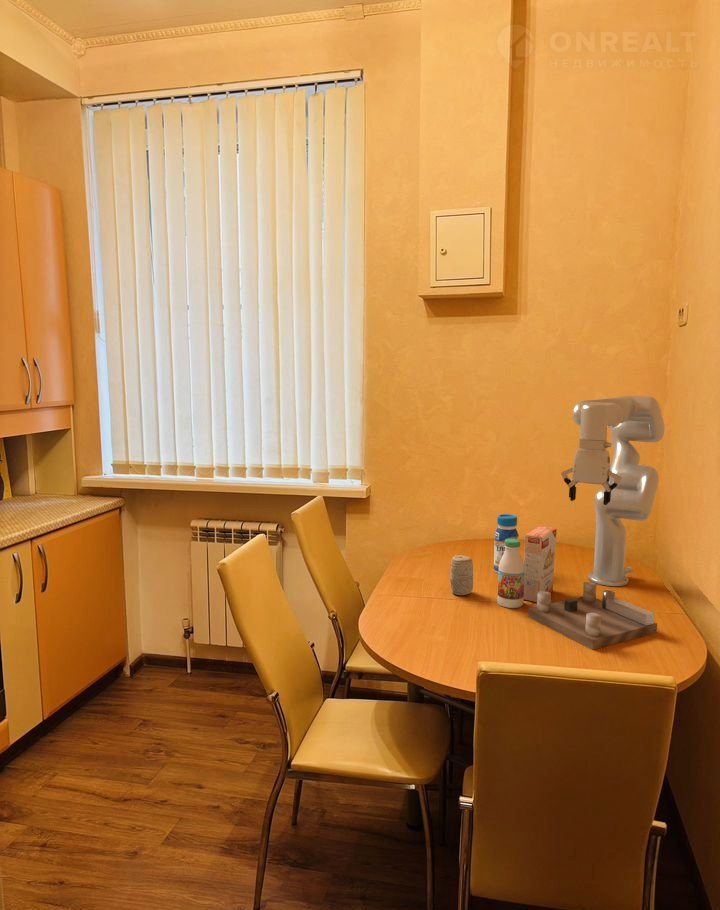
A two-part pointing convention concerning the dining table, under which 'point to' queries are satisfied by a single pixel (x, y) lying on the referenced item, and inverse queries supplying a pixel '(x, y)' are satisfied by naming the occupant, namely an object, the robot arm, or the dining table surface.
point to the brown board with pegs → (587, 619)
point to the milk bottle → (511, 576)
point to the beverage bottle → (503, 536)
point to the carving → (461, 575)
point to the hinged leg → (626, 609)
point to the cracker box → (539, 561)
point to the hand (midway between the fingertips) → (589, 502)
